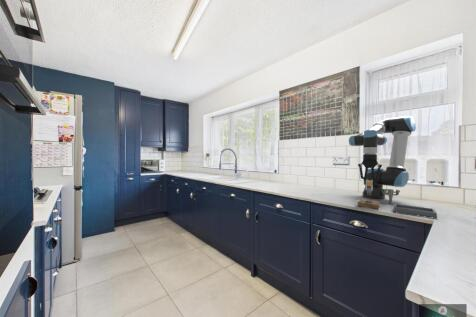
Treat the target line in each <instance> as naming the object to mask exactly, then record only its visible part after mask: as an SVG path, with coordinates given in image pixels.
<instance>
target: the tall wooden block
mask: <svg viewBox="0 0 476 317" xmlns="http://www.w3.org/2000/svg"><path fill="white" fill-rule="evenodd" d="M367 196H368V197H371V181H369V180H368V181H367Z"/></svg>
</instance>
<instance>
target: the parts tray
mask: <svg viewBox="0 0 476 317" xmlns="http://www.w3.org/2000/svg"><path fill="white" fill-rule="evenodd" d="M393 212H394V213H396V212H399V213H398V214H403V213H404V214H403V215H409V214H412V215H411V216H416V215H419V216H418V217H423V216H426V217H425V218H429V217H433V218H432V219H436V218H438V217H437V216H438V213H437V211H436V210H435V209H434V208H432V207H431V208H430V207H424V206H423V207H422V206H414V205H408V204H399V203H394V204H393Z"/></svg>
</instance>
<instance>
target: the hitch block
mask: <svg viewBox="0 0 476 317" xmlns="http://www.w3.org/2000/svg"><path fill="white" fill-rule="evenodd" d="M357 207H358V208H362V207H364V208H363V209H369V208H370V209H371V210H377V211H378V209H379V208H380V201H376V200H368V199H362V198H360V199H359V200H358V201H357Z"/></svg>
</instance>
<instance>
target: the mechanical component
mask: <svg viewBox="0 0 476 317" xmlns="http://www.w3.org/2000/svg"><path fill="white" fill-rule="evenodd" d="M382 192H383V194H385V196H388V198H389V199H388V204H390V205H392V204H393V198H394V196H400V195H399V194H400V192H401V190H399V189H396V190H395V191H394V189H390V188H383V189H382Z"/></svg>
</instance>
